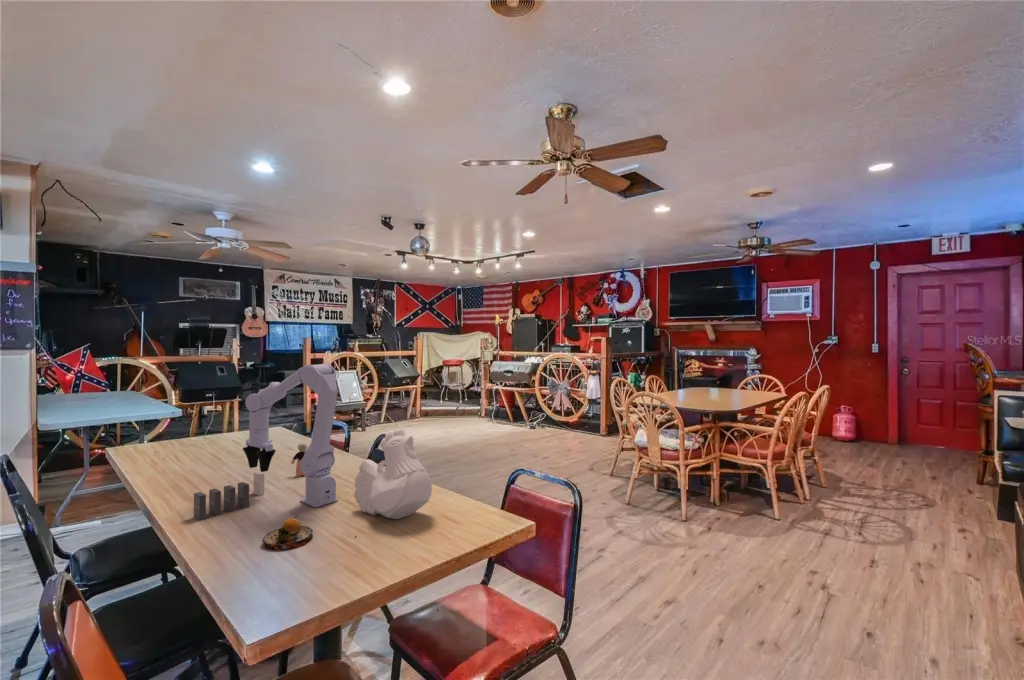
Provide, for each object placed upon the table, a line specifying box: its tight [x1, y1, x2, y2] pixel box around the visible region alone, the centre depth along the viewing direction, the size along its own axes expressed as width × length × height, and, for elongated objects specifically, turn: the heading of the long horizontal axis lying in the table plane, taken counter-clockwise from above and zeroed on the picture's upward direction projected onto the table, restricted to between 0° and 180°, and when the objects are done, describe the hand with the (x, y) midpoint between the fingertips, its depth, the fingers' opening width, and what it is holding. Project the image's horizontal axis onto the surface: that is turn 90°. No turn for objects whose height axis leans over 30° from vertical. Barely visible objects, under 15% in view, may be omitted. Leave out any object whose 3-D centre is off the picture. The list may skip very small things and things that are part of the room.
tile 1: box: [237, 481, 250, 509], centre depth 145 cm, size 4×2×7 cm, turn 54°
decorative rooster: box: [353, 427, 433, 520], centre depth 141 cm, size 25×16×25 cm
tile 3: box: [208, 488, 222, 517], centre depth 138 cm, size 4×2×7 cm, turn 54°
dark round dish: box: [261, 514, 314, 552], centre depth 121 cm, size 12×12×8 cm
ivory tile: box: [253, 471, 265, 497], centre depth 157 cm, size 4×2×7 cm, turn 54°
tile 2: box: [223, 484, 236, 513], centre depth 142 cm, size 4×2×7 cm, turn 54°
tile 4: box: [193, 491, 207, 521], centre depth 135 cm, size 4×2×7 cm, turn 54°
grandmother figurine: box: [290, 442, 308, 478], centre depth 177 cm, size 8×4×13 cm, turn 143°
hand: (258, 469), depth 157 cm, fingers open, 7 cm apart
